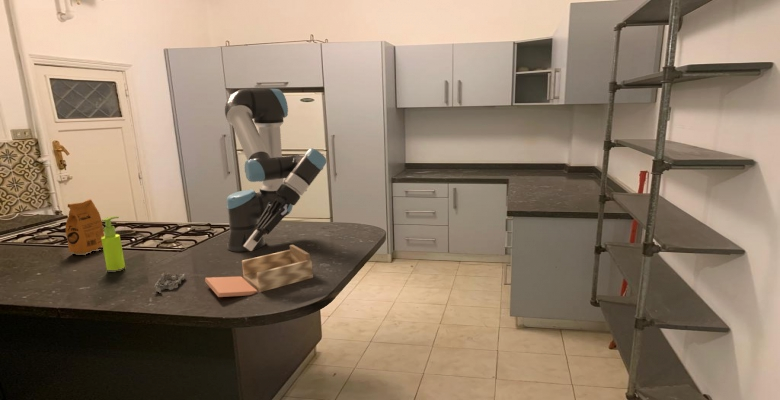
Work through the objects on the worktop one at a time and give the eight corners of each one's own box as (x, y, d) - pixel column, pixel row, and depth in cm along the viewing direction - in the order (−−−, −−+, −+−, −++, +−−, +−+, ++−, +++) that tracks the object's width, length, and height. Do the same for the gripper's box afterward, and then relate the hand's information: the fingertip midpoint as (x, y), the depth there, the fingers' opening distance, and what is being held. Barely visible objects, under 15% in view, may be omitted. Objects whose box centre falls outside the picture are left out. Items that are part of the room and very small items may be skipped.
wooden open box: (293, 267, 162) (291, 243, 160) (313, 280, 149) (310, 254, 147) (243, 280, 152) (240, 254, 150) (260, 295, 139) (257, 267, 137)
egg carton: (165, 282, 154) (163, 271, 153) (188, 281, 154) (186, 269, 154) (152, 295, 143) (150, 283, 143) (176, 293, 144) (174, 281, 143)
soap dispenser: (131, 267, 170) (122, 215, 166) (115, 273, 164) (105, 220, 160) (120, 265, 172) (111, 215, 168) (103, 272, 166) (93, 219, 162)
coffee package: (65, 255, 188) (55, 204, 183) (92, 246, 200) (83, 198, 195) (83, 257, 185) (73, 205, 181) (110, 247, 197) (101, 198, 192)
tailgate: (241, 276, 151) (205, 277, 144) (257, 290, 138) (219, 293, 132) (240, 279, 151) (205, 281, 144) (256, 294, 138) (218, 297, 132)
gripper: (308, 199, 145) (263, 260, 140) (292, 193, 156) (249, 249, 150) (291, 185, 141) (244, 247, 136) (276, 180, 152) (231, 237, 146)
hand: (247, 248), depth 143 cm, fingers closed
